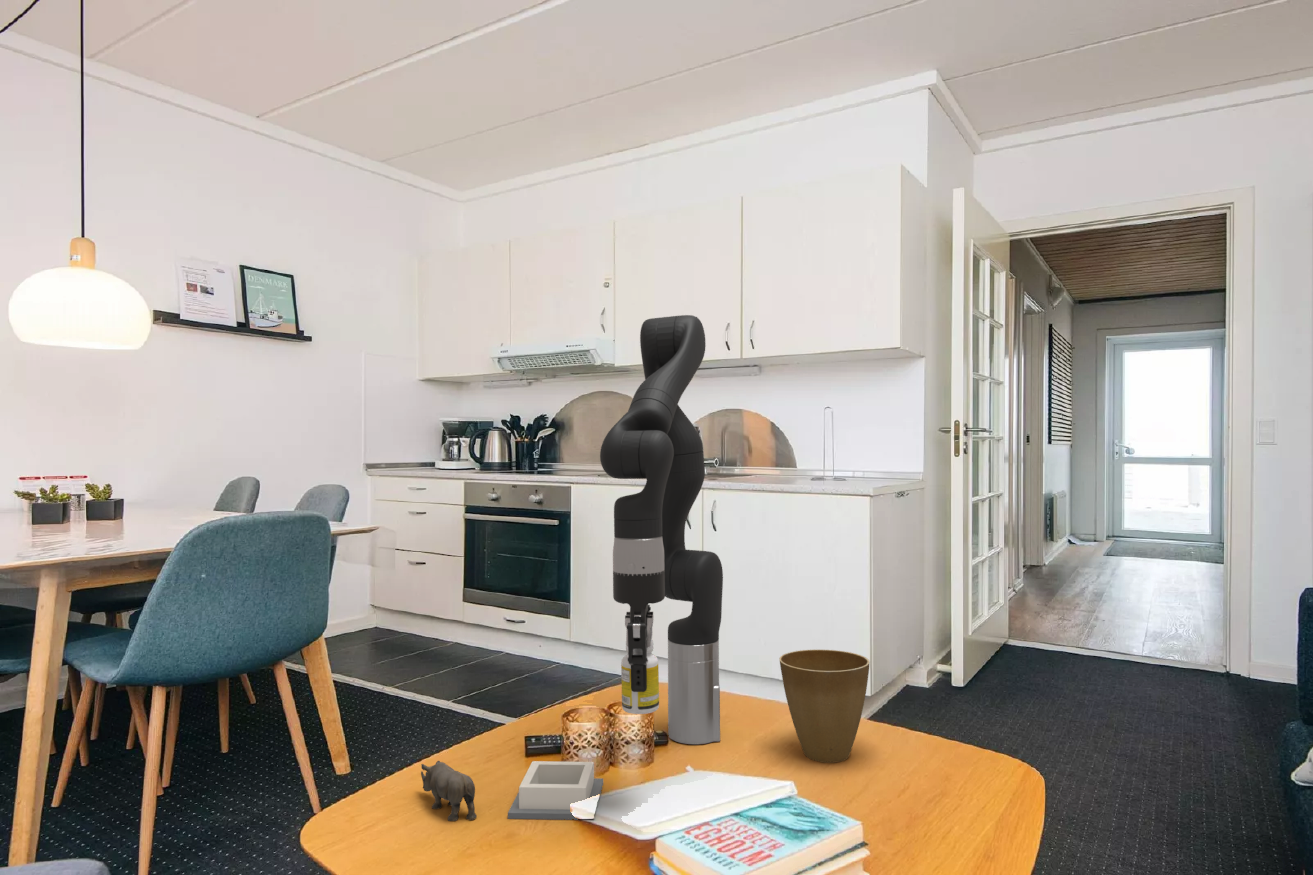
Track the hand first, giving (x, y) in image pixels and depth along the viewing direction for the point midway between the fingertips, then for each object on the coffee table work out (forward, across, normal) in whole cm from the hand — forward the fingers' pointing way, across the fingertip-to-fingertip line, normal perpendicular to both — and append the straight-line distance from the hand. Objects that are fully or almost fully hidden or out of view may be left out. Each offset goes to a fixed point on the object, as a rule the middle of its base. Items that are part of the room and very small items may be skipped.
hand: (640, 684), depth 113 cm
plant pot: (+18, +20, -30) cm, 40 cm away
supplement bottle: (+4, 0, 0) cm, 4 cm away
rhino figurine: (+17, -2, +28) cm, 33 cm away
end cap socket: (+17, +1, +12) cm, 21 cm away
